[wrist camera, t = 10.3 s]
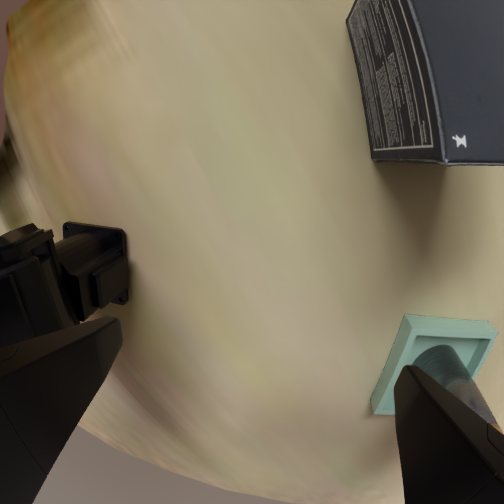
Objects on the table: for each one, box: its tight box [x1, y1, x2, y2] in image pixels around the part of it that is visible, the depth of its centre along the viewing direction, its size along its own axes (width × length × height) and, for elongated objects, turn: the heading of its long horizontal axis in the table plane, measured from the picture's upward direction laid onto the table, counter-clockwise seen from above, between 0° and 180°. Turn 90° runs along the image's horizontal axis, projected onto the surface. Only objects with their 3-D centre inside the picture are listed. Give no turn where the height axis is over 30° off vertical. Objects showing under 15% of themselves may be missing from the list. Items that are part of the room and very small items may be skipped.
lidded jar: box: [412, 345, 503, 434], centre depth 16 cm, size 5×5×12 cm
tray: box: [370, 314, 498, 415], centre depth 21 cm, size 9×9×2 cm
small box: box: [346, 0, 504, 166], centre depth 11 cm, size 11×6×10 cm, turn 8°
